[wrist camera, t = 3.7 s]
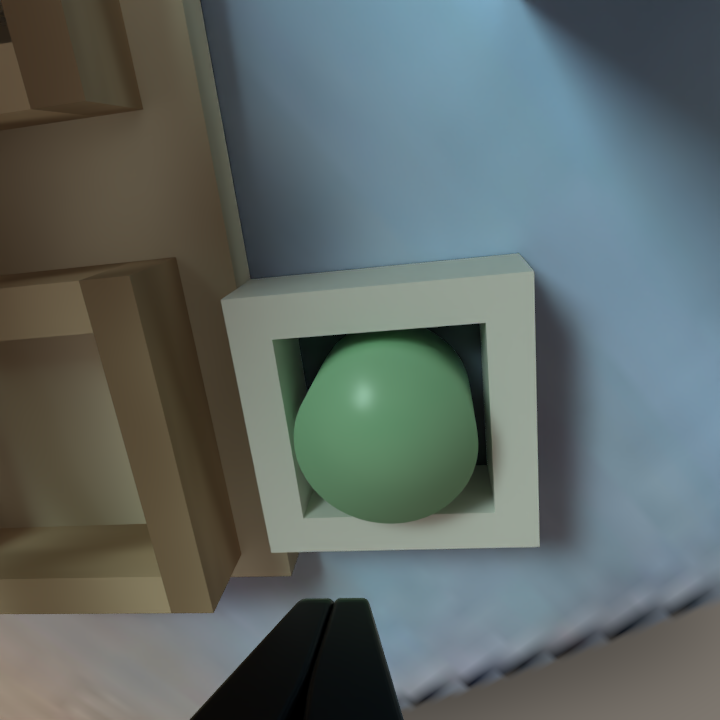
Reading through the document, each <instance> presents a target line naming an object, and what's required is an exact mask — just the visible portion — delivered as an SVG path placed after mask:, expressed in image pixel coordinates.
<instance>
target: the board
mask: <svg viewBox="0 0 720 720" xmlns="http://www.w3.org/2000/svg"><path fill="white" fill-rule="evenodd" d="M1 4H2V8H3V11H4V15H5V18H6V22H7V25H6V26H0V614H106V613H214V611H215V609H216V607H217V605H218V602H219V600H220V598H221V596H222V594H223V592H224V590H225V588H226V586H227V584H228V582H229V579H230V577H272V576H292V573H293V570H294V567H295V564H296V561H297V558H298V555H299V552H282V553H271V549H270V544H269V539H268V534H267V529H266V524H265V519H264V514H263V509H262V504H261V499H260V494H259V489H258V484H257V479H256V474H255V469H254V464H253V459H252V454H251V449H250V444H249V439H248V434H247V429H246V424H245V419H244V414H243V409H242V404H241V399H240V394H239V389H238V384H237V379H236V374H235V369H234V364H233V359H232V354H231V349H230V344H229V339H228V334H227V329H226V324H225V319H224V314H223V309H222V304H221V299H223V298H224V297H226V296H227V295H228V294H230V293H231V292H233V291H234V290H236V289H237V288H239V287H240V286H242V285H243V284H244V283H246V282H247V281H249V280H250V273H249V268H248V262H247V257H246V251H245V245H244V240H243V234H242V229H241V223H240V218H239V212H238V207H237V201H236V196H235V190H234V185H233V179H232V174H231V168H230V163H229V157H228V152H227V146H226V141H225V135H224V130H223V124H222V118H221V113H220V107H219V102H218V96H217V91H216V85H215V80H214V74H213V69H212V63H211V58H210V52H209V47H208V41H207V36H206V30H205V25H204V19H203V14H202V8H201V2H200V0H1Z"/></svg>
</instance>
